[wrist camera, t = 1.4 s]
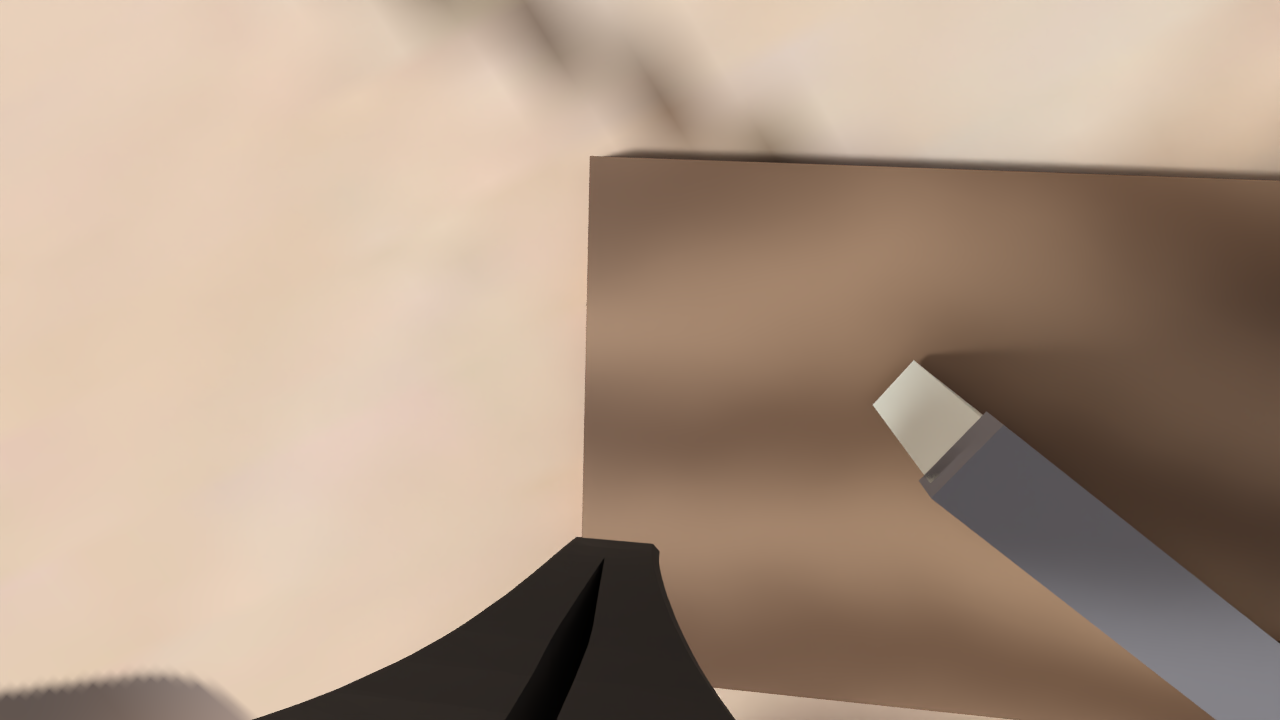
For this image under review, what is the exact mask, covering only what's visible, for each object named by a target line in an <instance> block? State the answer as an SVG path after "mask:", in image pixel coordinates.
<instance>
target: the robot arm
mask: <svg viewBox="0 0 1280 720" xmlns="http://www.w3.org/2000/svg"><path fill="white" fill-rule="evenodd" d="M659 554H660V551H659V550H658V549H657V548H656V547H655V545H654V544H651V543H639V542H628V541H617V540H605V539H594V538H582V537H576V538H575V539H573V540H572V541H571V542H570V543H568V544H567V545H566V546H565V547H563V548H562V549H561V550H560V551H559V552H557V553H556V554H555V555H554V556H553V557H552V558H550V559H549V560H548V561H547V562H546V563H545V564H543V565H542V566H541V567H540V568H539V569H537V570H536V571H535V572H534V573H533V574H531V575H530V576H529V577H528V578H526V579H525V580H524V581H523V582H521V583H520V584H519V585H518V586H516V587H515V588H514V589H513V590H511V591H510V592H509V593H508V594H506V595H505V596H503V597H502V598H501V599H499V600H498V601H496V602H495V603H494V604H492V605H491V606H489V607H488V608H486V609H485V610H484V611H482V612H481V613H479V614H478V615H477V616H475V617H474V618H472V619H471V620H469V621H468V622H466V623H465V624H463V625H462V626H460V627H459V628H457V629H456V630H454V631H452V632H451V633H449V634H447V635H446V636H444V637H442V638H441V639H439V640H437V641H435V642H433V643H432V644H430V645H428V646H426V647H424V648H423V649H421V650H419V651H417V652H415V653H414V654H412V655H410V656H408V657H406V658H404V659H402V660H400V661H398V662H396V663H394V664H391V665H389V666H387V667H385V668H383V669H381V670H378V671H376V672H374V673H372V674H370V675H367V676H365V677H363V678H361V679H359V680H356V681H354V682H352V683H350V684H348V685H346V686H343V687H341V688H339V689H336V690H334V691H331V692H329V693H326V694H324V695H321V696H318V697H316V698H313V699H311V700H308V701H305V702H303V703H300V704H297V705H294V706H292V707H289V708H286V709H283V710H280V711H277V712H274V713H271V714H268V715H265V716H263V717H260V718H256V719H253V720H735V719H734V717H733V716H732V714H731V713H730V712H729V710H728V709H727V707H726V706H725V705H724V703H723V702H722V700H721V699H720V698H719V696H718V695H717V693H716V692H715V690H714V689H713V687H712V685H711V684H710V682H709V681H708V679H707V678H706V676H705V674H704V673H703V671H702V669H701V668H700V666H699V664H698V662H697V661H696V659H695V657H694V655H693V653H692V651H691V649H690V647H689V645H688V643H687V641H686V639H685V637H684V635H683V633H682V631H681V629H680V626H679V624H678V622H677V620H676V617H675V615H674V612H673V609H672V607H671V604H670V602H669V599H668V596H667V593H666V590H665V587H664V583H663V580H662V576H661V571H660V566H659Z"/></svg>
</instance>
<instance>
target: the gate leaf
mask: <svg viewBox="0 0 1280 720" xmlns="http://www.w3.org/2000/svg"><path fill="white" fill-rule="evenodd" d="M873 406H874V407H875V409H876V410H877V411H878V413H879V414H880V416H881V417H882V418H883V420H884V421H885V422H886V424H887V425H888V426H889V428H890V429H891V431H892V432H893V433H894V435H895V436H896V437H897V439H898V440H899V441H900V443H901V444H902V446H903V447H904V448H905V450H906V451H907V452H908V454H909V455H910V456H911V458H912V459H913V461H914V462H915V463H916V465H917V466H918V467H919V469H920V470H921V471H922V473H923V474H924V476H923V477H922V478H921V479H920V480H919V482H920V483H921V485H922V486H923V488H924V489H925V490H926V492H927V493H928V495H929V496H930V498H931V499H933V500H934V501H935V502H936V503H938V504H939V505H940V506H942V507H943V508H944V509H945V510H947V511H948V512H949V513H951V514H952V515H953V516H954V517H956V518H957V519H958V520H960V521H961V522H962V523H963V524H965V525H966V526H967V527H969V528H970V529H971V530H972V531H974V532H975V533H976V534H978V535H979V536H980V537H981V538H983V539H984V540H985V541H987V542H988V543H989V544H990V545H992V546H993V547H994V548H996V549H997V550H998V551H999V552H1001V553H1002V554H1003V555H1005V556H1006V557H1007V558H1008V559H1010V560H1011V561H1012V562H1014V563H1015V564H1016V565H1017V566H1019V567H1020V568H1021V569H1023V570H1024V571H1025V572H1026V573H1028V574H1029V575H1030V576H1032V577H1033V578H1034V579H1035V580H1037V581H1038V582H1039V583H1041V584H1042V585H1043V586H1044V587H1046V588H1047V589H1048V590H1050V591H1051V592H1052V593H1053V594H1055V595H1056V596H1057V597H1059V598H1060V599H1061V600H1062V601H1064V602H1065V603H1066V604H1068V605H1069V606H1070V607H1071V608H1073V609H1074V610H1075V611H1077V612H1078V613H1079V614H1080V615H1082V616H1083V617H1084V618H1086V619H1087V620H1088V621H1089V622H1091V623H1092V624H1093V625H1095V626H1096V627H1097V628H1098V629H1100V630H1101V631H1102V632H1104V633H1105V634H1106V635H1107V636H1109V637H1110V638H1111V639H1113V640H1114V641H1115V642H1116V643H1118V644H1119V645H1120V646H1122V647H1123V648H1124V649H1125V650H1127V651H1128V652H1129V653H1131V654H1132V655H1133V656H1134V657H1136V658H1137V659H1138V660H1140V661H1141V662H1142V663H1143V664H1145V665H1146V666H1147V667H1149V668H1150V669H1151V670H1152V671H1154V672H1155V673H1156V674H1158V675H1159V676H1160V677H1161V678H1163V679H1164V680H1165V681H1167V682H1168V683H1169V684H1170V685H1172V686H1173V687H1174V688H1176V689H1177V690H1178V691H1179V692H1181V693H1182V694H1183V695H1185V696H1186V697H1187V698H1189V699H1190V700H1191V701H1192V702H1194V703H1195V704H1196V705H1198V706H1199V707H1200V708H1201V709H1203V710H1204V711H1205V712H1207V713H1208V714H1209V715H1210V716H1212V717H1213V718H1214V719H1216V720H1280V643H1279V642H1277V641H1276V640H1275V639H1274V638H1272V637H1271V636H1270V635H1268V634H1267V633H1266V632H1265V631H1263V630H1262V629H1261V628H1260V627H1258V626H1257V625H1256V624H1255V623H1253V622H1252V621H1251V620H1250V619H1248V618H1247V617H1246V616H1244V615H1243V614H1242V613H1241V612H1239V611H1238V610H1237V609H1236V608H1234V607H1233V606H1232V605H1231V604H1229V603H1228V602H1227V601H1226V600H1224V599H1223V598H1222V597H1220V596H1219V595H1218V594H1217V593H1215V592H1214V591H1213V590H1212V589H1210V588H1209V587H1208V586H1207V585H1205V584H1204V583H1203V582H1202V581H1200V580H1199V579H1198V578H1196V577H1195V576H1194V575H1193V574H1191V573H1190V572H1189V571H1188V570H1186V569H1185V568H1184V567H1183V566H1181V565H1180V564H1179V563H1177V562H1176V561H1175V560H1174V559H1172V558H1171V557H1170V556H1169V555H1167V554H1166V553H1165V552H1164V551H1162V550H1161V549H1160V548H1159V547H1157V546H1156V545H1155V544H1153V543H1152V542H1151V541H1150V540H1148V539H1147V538H1146V537H1145V536H1143V535H1142V534H1141V533H1140V532H1138V531H1137V530H1136V529H1135V528H1133V527H1132V526H1131V525H1129V524H1128V523H1127V522H1126V521H1124V520H1123V519H1122V518H1121V517H1119V516H1118V515H1117V514H1116V513H1114V512H1113V511H1112V510H1111V509H1109V508H1108V507H1107V506H1105V505H1104V504H1103V503H1102V502H1100V501H1099V500H1098V499H1097V498H1095V497H1094V496H1093V495H1092V494H1090V493H1089V492H1088V491H1087V490H1085V489H1084V488H1083V487H1081V486H1080V485H1079V484H1078V483H1076V482H1075V481H1074V480H1073V479H1071V478H1070V477H1069V476H1068V475H1066V474H1065V473H1064V472H1063V471H1061V470H1060V469H1059V468H1057V467H1056V466H1055V465H1054V464H1052V463H1051V462H1050V461H1049V460H1047V459H1046V458H1045V457H1044V456H1042V455H1041V454H1040V453H1039V452H1037V451H1036V450H1035V449H1033V448H1032V447H1031V446H1030V445H1028V444H1027V443H1026V442H1025V441H1023V440H1022V439H1021V438H1020V437H1018V436H1017V435H1016V434H1015V433H1013V432H1012V431H1011V430H1009V429H1008V428H1007V427H1006V426H1004V425H1003V424H1002V423H1001V422H999V421H998V420H997V419H996V418H994V417H993V416H992V415H991V414H989V413H988V412H987V411H986V412H985V413H984V414H983V415H982V414H981V413H980V412H979V411H977V410H976V409H975V408H974V407H972V406H971V405H970V404H968V403H967V402H966V401H965V400H963V399H962V398H961V397H960V396H958V395H957V394H956V393H955V392H953V391H952V390H951V389H950V388H948V387H947V386H946V385H944V384H943V383H942V382H941V381H939V380H938V379H937V378H936V377H934V376H933V375H932V374H931V373H929V372H928V371H927V370H925V369H924V368H923V367H922V366H920V365H919V364H918V363H917V362H915V361H914V360H913V362H912V363H911V364H910V365H909V366H908V367H907V368H906V369H905V370H904V371H903V372H902V374H901V375H900V376H899V377H898V378H897V379H896V380H895V381H894V382H893V383H892V384H891V385H890V387H889V388H888V389H887V390H886V391H885V392H884V393H883V394H882V395H881V396H880V397H879V399H878V400H877V401H876V402H875V403H874V404H873Z"/></svg>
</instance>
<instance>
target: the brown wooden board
mask: <svg viewBox="0 0 1280 720" xmlns="http://www.w3.org/2000/svg"><path fill="white" fill-rule="evenodd" d="M913 360H914V361H915V362H917V363H918V364H919V365H920V366H922V367H923V368H924V369H925V370H927V371H928V372H929V373H931V374H932V375H933V376H934V377H936V378H937V379H938V380H939V381H941V382H942V383H943V384H944V385H946V386H947V387H948V388H950V389H951V390H952V391H953V392H955V393H956V394H957V395H958V396H960V397H961V398H962V399H963V400H965V401H966V402H967V403H968V404H970V405H971V406H972V407H974V408H975V409H976V410H977V411H979V412H980V413H981V414H982V415H983V414H984V413H985V412H986V411H987V412H988V413H989V414H991V415H992V416H993V417H994V418H996V419H997V420H998V421H999V422H1001V423H1002V424H1003V425H1004V426H1006V427H1007V428H1008V429H1009V430H1011V431H1012V432H1013V433H1015V434H1016V435H1017V436H1018V437H1020V438H1021V439H1022V440H1023V441H1025V442H1026V443H1027V444H1028V445H1030V446H1031V447H1032V448H1033V449H1035V450H1036V451H1037V452H1039V453H1040V454H1041V455H1042V456H1044V457H1045V458H1046V459H1047V460H1049V461H1050V462H1051V463H1052V464H1054V465H1055V466H1056V467H1057V468H1059V469H1060V470H1061V471H1063V472H1064V473H1065V474H1066V475H1068V476H1069V477H1070V478H1071V479H1073V480H1074V481H1075V482H1076V483H1078V484H1079V485H1080V486H1081V487H1083V488H1084V489H1085V490H1087V491H1088V492H1089V493H1090V494H1092V495H1093V496H1094V497H1095V498H1097V499H1098V500H1099V501H1100V502H1102V503H1103V504H1104V505H1105V506H1107V507H1108V508H1109V509H1111V510H1112V511H1113V512H1114V513H1116V514H1117V515H1118V516H1119V517H1121V518H1122V519H1123V520H1124V521H1126V522H1127V523H1128V524H1129V525H1131V526H1132V527H1133V528H1135V529H1136V530H1137V531H1138V532H1140V533H1141V534H1142V535H1143V536H1145V537H1146V538H1147V539H1148V540H1150V541H1151V542H1152V543H1153V544H1155V545H1156V546H1157V547H1159V548H1160V549H1161V550H1162V551H1164V552H1165V553H1166V554H1167V555H1169V556H1170V557H1171V558H1172V559H1174V560H1175V561H1176V562H1177V563H1179V564H1180V565H1181V566H1183V567H1184V568H1185V569H1186V570H1188V571H1189V572H1190V573H1191V574H1193V575H1194V576H1195V577H1196V578H1198V579H1199V580H1200V581H1202V582H1203V583H1204V584H1205V585H1207V586H1208V587H1209V588H1210V589H1212V590H1213V591H1214V592H1215V593H1217V594H1218V595H1219V596H1220V597H1222V598H1223V599H1224V600H1226V601H1227V602H1228V603H1229V604H1231V605H1232V606H1233V607H1234V608H1236V609H1237V610H1238V611H1239V612H1241V613H1242V614H1243V615H1244V616H1246V617H1247V618H1248V619H1250V620H1251V621H1252V622H1253V623H1255V624H1256V625H1257V626H1258V627H1260V628H1261V629H1262V630H1263V631H1265V632H1266V633H1267V634H1268V635H1270V636H1271V637H1272V638H1274V639H1275V640H1276V641H1277V642H1279V643H1280V181H1276V180H1248V179H1220V178H1192V177H1164V176H1136V175H1107V174H1079V173H1051V172H1023V171H995V170H967V169H939V168H911V167H883V166H854V165H826V164H798V163H770V162H742V161H714V160H686V159H658V158H629V157H601V156H590V178H589V226H588V273H587V321H586V369H585V416H584V464H583V511H582V538H594V539H605V540H617V541H628V542H639V543H651V544H654V545H655V547H656V548H657V549H658V550H659V551H660V554H659V566H660V571H661V576H662V580H663V583H664V587H665V590H666V593H667V596H668V599H669V602H670V604H671V607H672V609H673V612H674V615H675V617H676V620H677V622H678V624H679V626H680V629H681V631H682V633H683V635H684V637H685V639H686V641H687V643H688V645H689V647H690V649H691V651H692V653H693V655H694V657H695V659H696V661H697V662H698V664H699V666H700V668H701V669H702V671H703V673H704V674H705V676H706V678H707V679H708V681H709V682H710V684H711V685H712V687H713V688H722V689H732V690H741V691H751V692H760V693H769V694H779V695H788V696H798V697H807V698H816V699H826V700H835V701H845V702H854V703H863V704H873V705H882V706H892V707H901V708H910V709H920V710H929V711H939V712H948V713H957V714H967V715H976V716H986V717H995V718H1004V719H1014V720H1216V719H1214V718H1213V717H1212V716H1210V715H1209V714H1208V713H1207V712H1205V711H1204V710H1203V709H1201V708H1200V707H1199V706H1198V705H1196V704H1195V703H1194V702H1192V701H1191V700H1190V699H1189V698H1187V697H1186V696H1185V695H1183V694H1182V693H1181V692H1179V691H1178V690H1177V689H1176V688H1174V687H1173V686H1172V685H1170V684H1169V683H1168V682H1167V681H1165V680H1164V679H1163V678H1161V677H1160V676H1159V675H1158V674H1156V673H1155V672H1154V671H1152V670H1151V669H1150V668H1149V667H1147V666H1146V665H1145V664H1143V663H1142V662H1141V661H1140V660H1138V659H1137V658H1136V657H1134V656H1133V655H1132V654H1131V653H1129V652H1128V651H1127V650H1125V649H1124V648H1123V647H1122V646H1120V645H1119V644H1118V643H1116V642H1115V641H1114V640H1113V639H1111V638H1110V637H1109V636H1107V635H1106V634H1105V633H1104V632H1102V631H1101V630H1100V629H1098V628H1097V627H1096V626H1095V625H1093V624H1092V623H1091V622H1089V621H1088V620H1087V619H1086V618H1084V617H1083V616H1082V615H1080V614H1079V613H1078V612H1077V611H1075V610H1074V609H1073V608H1071V607H1070V606H1069V605H1068V604H1066V603H1065V602H1064V601H1062V600H1061V599H1060V598H1059V597H1057V596H1056V595H1055V594H1053V593H1052V592H1051V591H1050V590H1048V589H1047V588H1046V587H1044V586H1043V585H1042V584H1041V583H1039V582H1038V581H1037V580H1035V579H1034V578H1033V577H1032V576H1030V575H1029V574H1028V573H1026V572H1025V571H1024V570H1023V569H1021V568H1020V567H1019V566H1017V565H1016V564H1015V563H1014V562H1012V561H1011V560H1010V559H1008V558H1007V557H1006V556H1005V555H1003V554H1002V553H1001V552H999V551H998V550H997V549H996V548H994V547H993V546H992V545H990V544H989V543H988V542H987V541H985V540H984V539H983V538H981V537H980V536H979V535H978V534H976V533H975V532H974V531H972V530H971V529H970V528H969V527H967V526H966V525H965V524H963V523H962V522H961V521H960V520H958V519H957V518H956V517H954V516H953V515H952V514H951V513H949V512H948V511H947V510H945V509H944V508H943V507H942V506H940V505H939V504H938V503H936V502H935V501H934V500H933V499H931V498H930V496H929V495H928V493H927V492H926V490H925V489H924V488H923V486H922V485H921V483H920V482H919V480H920V479H921V478H922V477H923V476H924V474H923V473H922V471H921V470H920V469H919V467H918V466H917V465H916V463H915V462H914V461H913V459H912V458H911V456H910V455H909V454H908V452H907V451H906V450H905V448H904V447H903V446H902V444H901V443H900V441H899V440H898V439H897V437H896V436H895V435H894V433H893V432H892V431H891V429H890V428H889V426H888V425H887V424H886V422H885V421H884V420H883V418H882V417H881V416H880V414H879V413H878V411H877V410H876V409H875V407H874V406H873V404H874V403H875V402H876V401H877V400H878V399H879V397H880V396H881V395H882V394H883V393H884V392H885V391H886V390H887V389H888V388H889V387H890V385H891V384H892V383H893V382H894V381H895V380H896V379H897V378H898V377H899V376H900V375H901V374H902V372H903V371H904V370H905V369H906V368H907V367H908V366H909V365H910V364H911V363H912V362H913Z"/></svg>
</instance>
